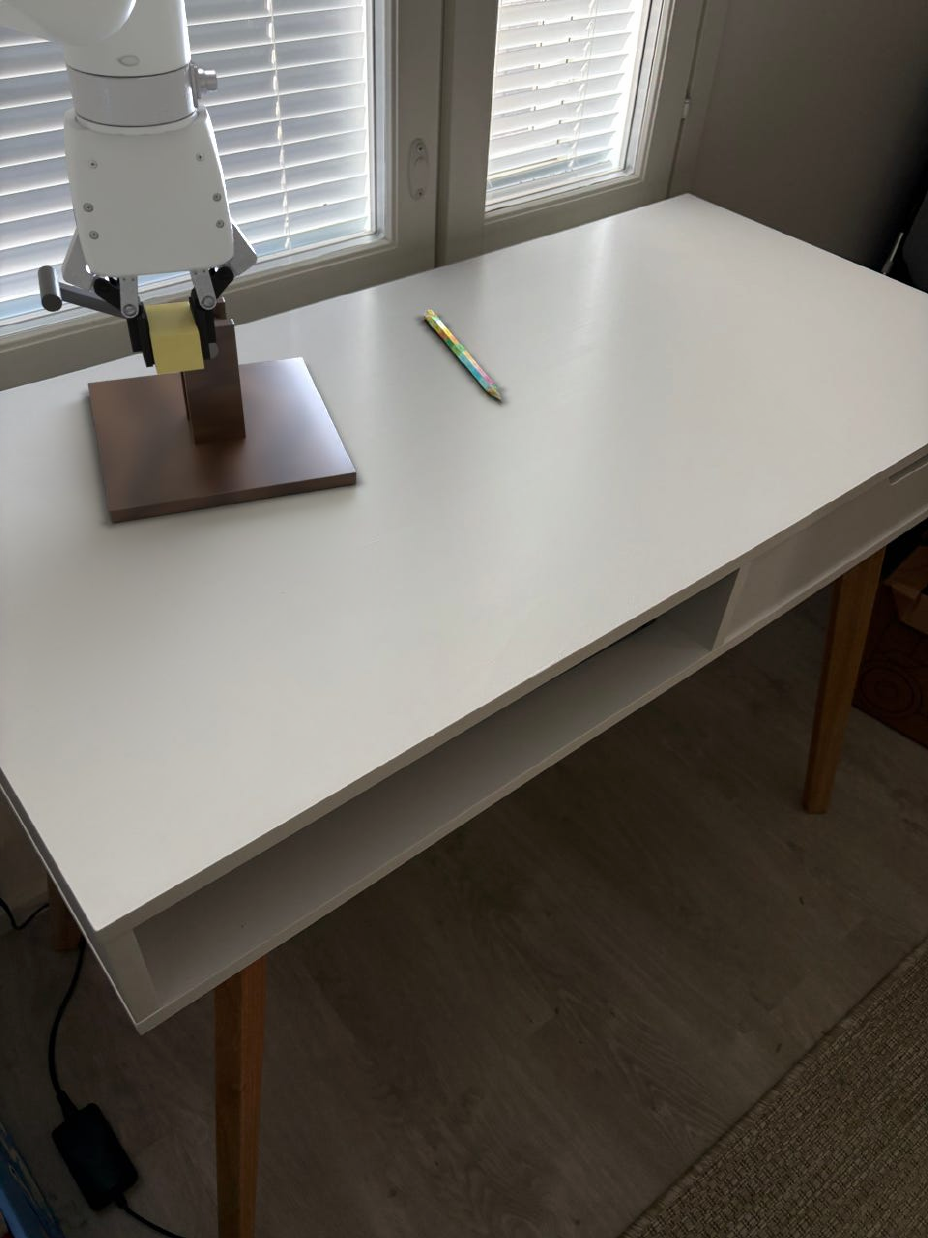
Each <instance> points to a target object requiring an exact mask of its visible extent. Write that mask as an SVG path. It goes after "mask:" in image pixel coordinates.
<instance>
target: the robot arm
mask: <svg viewBox="0 0 928 1238" xmlns="http://www.w3.org/2000/svg"><path fill="white" fill-rule="evenodd" d="M186 14H187V13H186V7H185V0H0V27H4V28H7V29H11V30H13V31H17V32H20V33H23V34H26V35H30V36H33V37H36V38H39V39H41V40H45V41H47V42H51V43H54V44H57V45H61V50H62V54H63V60H64V62H65V68H66V73H67V79H68V84H69V89H70V94H71V98H72V104H73V107H71V108H69V109H67V110H66V111H65V112H64V114H63V143H64V155H65V156H64V157H65V164H66V165H65V166H66V172H67V178H68V185H69V190H70V191H69V192H70V196H71V204H72V208H73V215H74V221H75V225H76V227H75V230H74V232H73V236H72V237H71V241H70V243H69V245H68V248H67V251H66V253H65V256H64V259H63V261H62V263H61V266H60V267H61V268H60V270H61V271H60V272H61V278H62V280H63V281H64V282H65V283H66V284H68V285H71V286H74V287H78V288H81V289H84V290H87V291H91V292H94V293H96V294H97V295H98V296H99V297H101V298H102V299H104V300H105V301H107V302H108V303H110V304H111V305H113V306H114V307H115V308H117V309H118V310H120V311H121V313H122V314H123V316H125V317H126V319H125V321H126V325H127V330H128V335H129V341H130V345H131V350H132V353H141V352H142V357H143V360H144V364H145V368H153V367H154V366H155V362H154V356H153V350H152V345H151V339H150V333H149V331H150V329H149V324H148V318H147V315H146V311H145V307H144V306H145V305H144V301H141V297H140V295H139V277H138V276H140V277H141V276H149V275H159V274H170V273H179V272H189V275H190V278H191V282H192V285H193V288H192V289H191V290H190V296H188V300H189V305H190V309H191V312H192V315H193V318H194V321H195V324H196V326H197V328H198V331H199V335H200V342H201V350H202V357H203V360H211V358H210V350H209V343H217V339H216V332H215V324H214V316H213V308H214V307H215V306H216V303H217V301H216V300H217V299H218V298H219V297H221V295H222V294H223V293H224V292H225V291H226V290H227V289H228V287H229V286H230V285H231V284H232V283H233V281H234V279H235V278H237V277H238V276H240V275H242V274H244V272H246V271H248V270H250V269H251V268H252V267H253V266H255V265H256V264H257V262H258V255H257V253H256V252H255V249H254V247H253V246H252V244H251V243H250V241H248V239H247V238H246V236H245V235H244V233H243V232H242V231H241V230H240V228H239V226H238V225H237V224H236V222H235V221H234V220H233V218H232V217H231V212H230V211H231V210H230V206H229V200H228V193H227V188H226V182H225V177H224V172H223V167H222V163H221V159H220V154H219V150H218V146H217V141H216V138H215V137H216V136H215V133H214V128H213V125H212V121H211V118H210V115H209V113H208V110H207V107H206V106H205V105H204V104H202V103H200V102H199V100H201V99H202V95H206V94H207V92H218V89H219V88H218V87H219V86H218V85H219V84H218V76H217V72H216V69H215V67H203V65H197V64H196V62H195V61H192V59H191V58H192V56H191V48H190V40H189V32H188V23H187V15H186Z"/></svg>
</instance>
